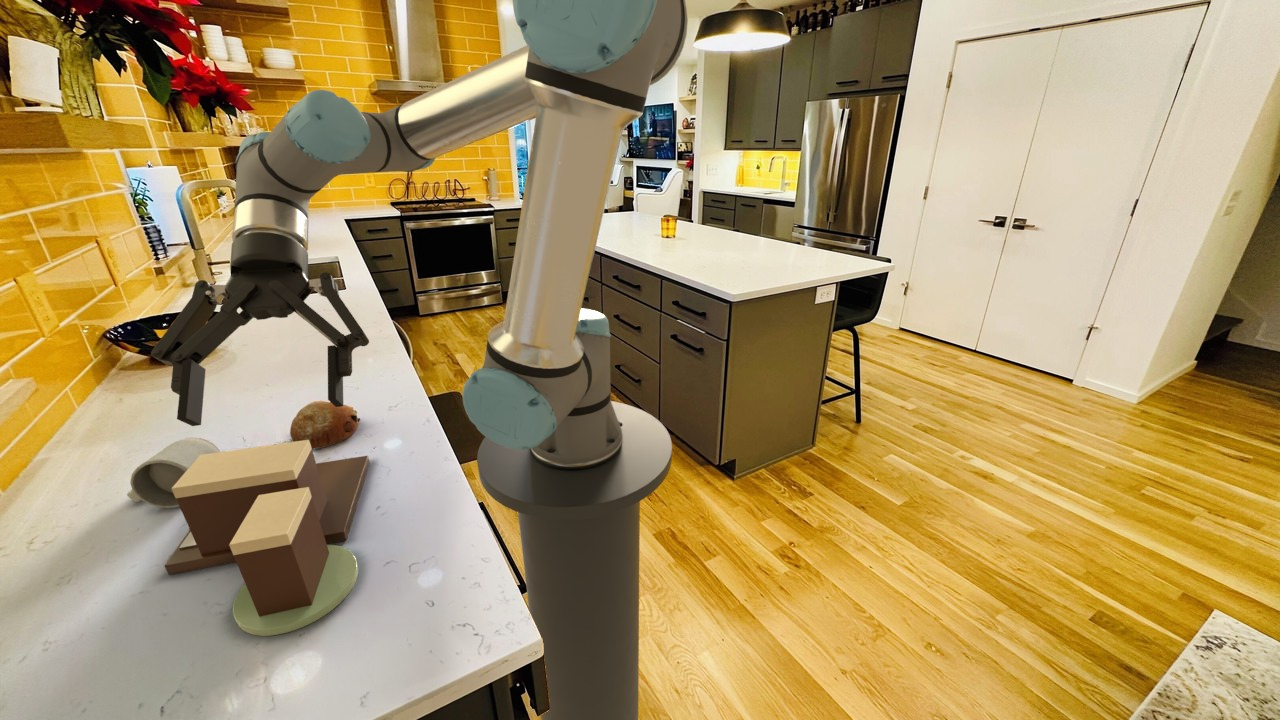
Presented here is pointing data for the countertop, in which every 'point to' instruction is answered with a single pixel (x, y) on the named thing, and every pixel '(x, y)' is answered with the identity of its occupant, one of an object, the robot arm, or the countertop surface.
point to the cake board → (335, 521)
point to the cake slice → (281, 551)
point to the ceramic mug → (166, 471)
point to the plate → (329, 594)
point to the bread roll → (324, 424)
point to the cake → (241, 488)
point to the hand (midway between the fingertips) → (265, 412)
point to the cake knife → (188, 542)
